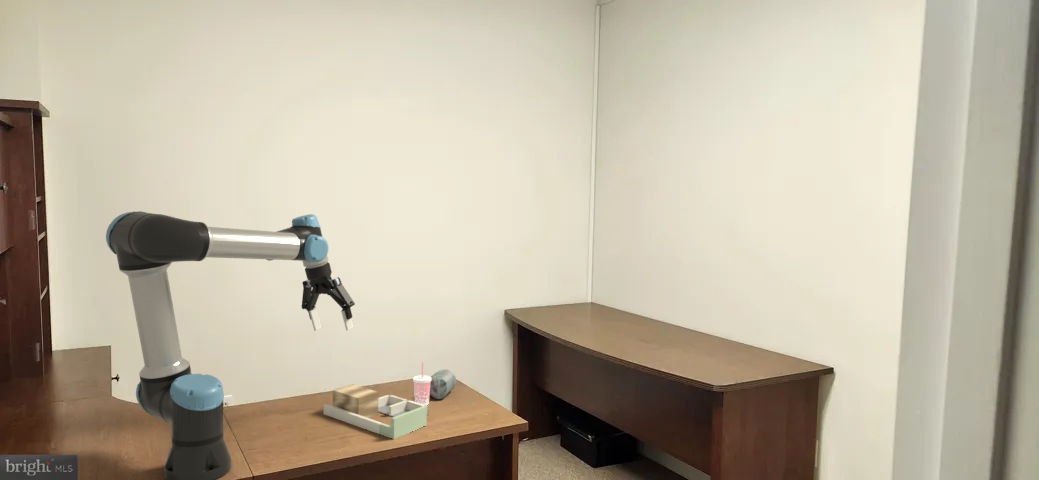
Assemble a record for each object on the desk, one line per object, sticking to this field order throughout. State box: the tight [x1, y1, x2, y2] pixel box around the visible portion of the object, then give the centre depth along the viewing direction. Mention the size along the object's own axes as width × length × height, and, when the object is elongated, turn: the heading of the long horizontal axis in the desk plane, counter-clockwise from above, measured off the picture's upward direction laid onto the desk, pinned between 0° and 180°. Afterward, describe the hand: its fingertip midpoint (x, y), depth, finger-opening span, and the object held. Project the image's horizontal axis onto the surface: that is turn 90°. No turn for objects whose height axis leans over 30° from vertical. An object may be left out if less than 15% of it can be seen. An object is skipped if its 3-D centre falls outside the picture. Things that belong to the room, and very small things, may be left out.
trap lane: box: [323, 393, 429, 440], centre depth 208 cm, size 31×20×6 cm, turn 54°
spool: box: [430, 369, 457, 400], centre depth 231 cm, size 14×10×10 cm
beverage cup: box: [412, 362, 432, 406], centre depth 220 cm, size 6×6×14 cm
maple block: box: [332, 384, 379, 419], centre depth 210 cm, size 12×8×8 cm, turn 54°
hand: (333, 329), depth 210 cm, fingers open, 13 cm apart
